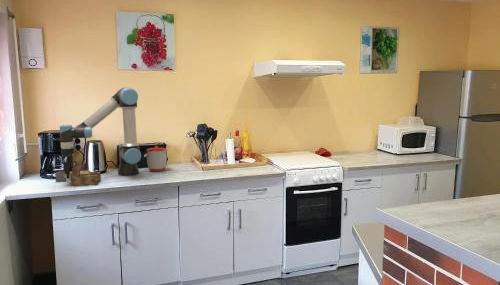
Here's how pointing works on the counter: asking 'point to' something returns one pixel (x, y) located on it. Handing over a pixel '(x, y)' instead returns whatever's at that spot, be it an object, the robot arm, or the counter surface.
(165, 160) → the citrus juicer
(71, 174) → the axle
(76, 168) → the brown wooden l-shaped block
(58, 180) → the v block
